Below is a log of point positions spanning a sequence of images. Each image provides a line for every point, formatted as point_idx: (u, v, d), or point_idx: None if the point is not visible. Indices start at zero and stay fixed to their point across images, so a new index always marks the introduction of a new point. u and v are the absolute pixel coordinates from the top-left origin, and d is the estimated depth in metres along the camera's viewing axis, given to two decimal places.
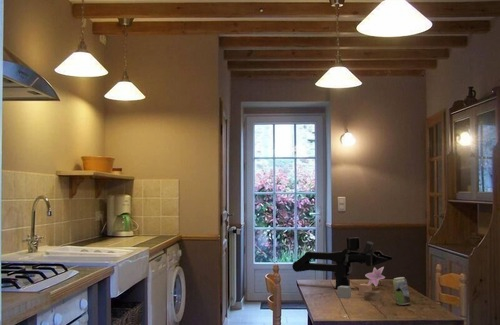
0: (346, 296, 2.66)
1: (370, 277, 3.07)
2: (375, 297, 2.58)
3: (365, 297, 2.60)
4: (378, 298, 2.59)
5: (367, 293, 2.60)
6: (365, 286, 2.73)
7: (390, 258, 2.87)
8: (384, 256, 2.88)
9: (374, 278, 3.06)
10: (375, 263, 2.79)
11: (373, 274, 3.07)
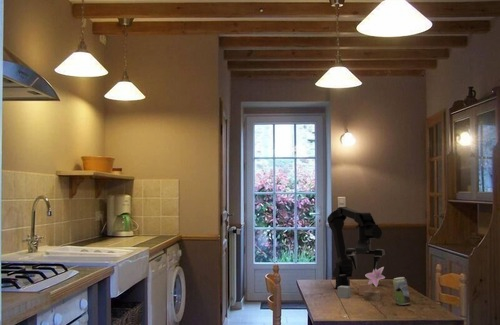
0: (346, 296, 2.66)
1: (370, 277, 3.07)
2: (375, 297, 2.58)
3: (365, 297, 2.60)
4: (378, 298, 2.59)
5: (367, 293, 2.60)
6: (365, 286, 2.73)
7: None
8: None
9: (374, 278, 3.06)
10: None
11: (373, 274, 3.07)
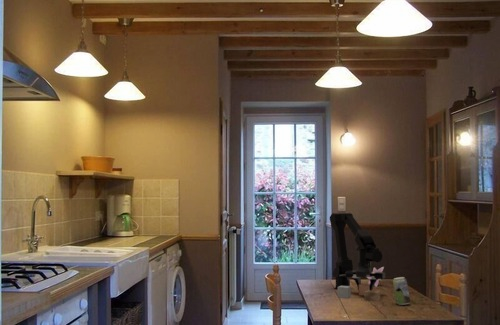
0: (346, 296, 2.66)
1: (370, 277, 3.07)
2: (375, 297, 2.58)
3: (365, 297, 2.60)
4: (378, 298, 2.60)
5: (367, 293, 2.59)
6: (365, 286, 2.73)
7: None
8: None
9: None
10: None
11: None
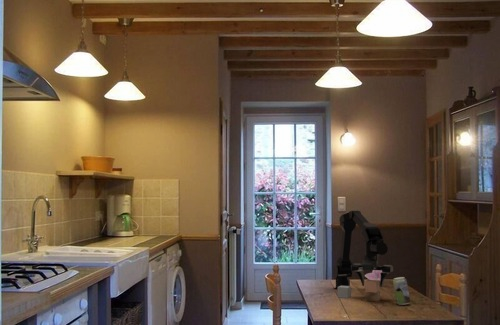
0: (346, 296, 2.66)
1: (370, 277, 3.06)
2: (376, 297, 2.58)
3: (365, 297, 2.60)
4: (378, 298, 2.60)
5: (368, 293, 2.59)
6: (372, 282, 2.59)
7: None
8: None
9: (374, 278, 3.05)
10: None
11: (372, 275, 3.06)
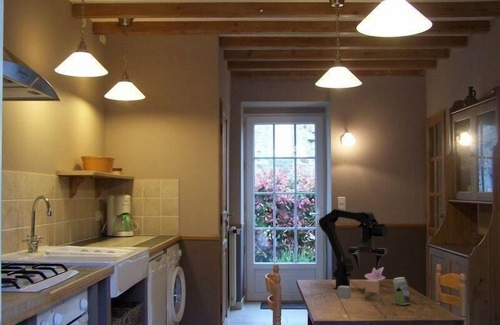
0: (346, 296, 2.66)
1: (370, 277, 3.05)
2: (376, 297, 2.58)
3: (366, 297, 2.60)
4: (378, 298, 2.60)
5: (368, 293, 2.59)
6: (372, 282, 2.59)
7: None
8: None
9: (374, 278, 3.05)
10: None
11: (372, 275, 3.06)
